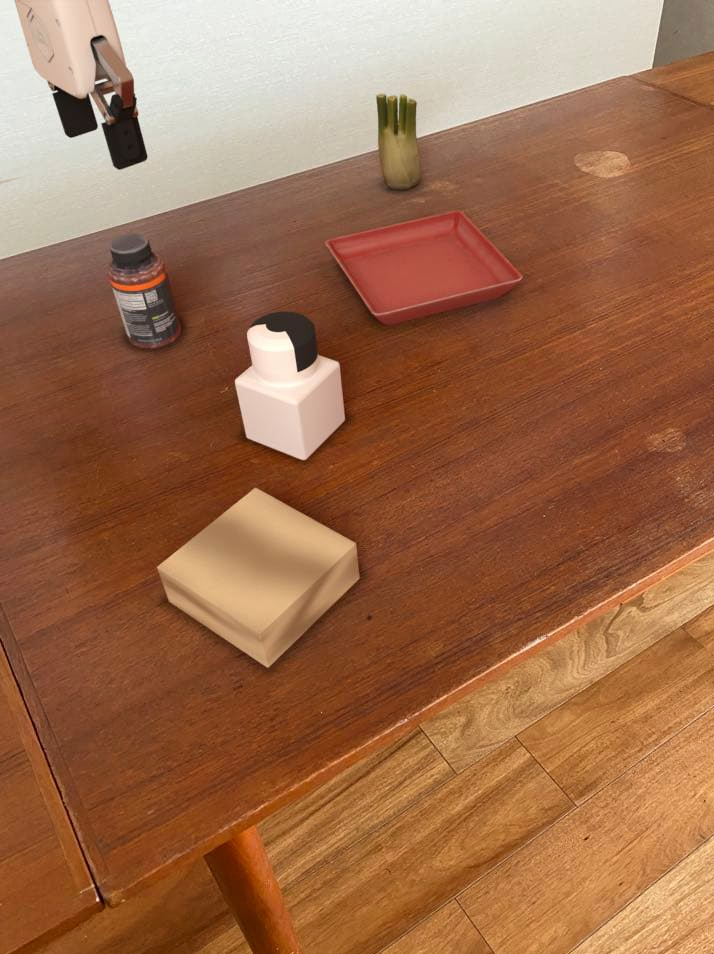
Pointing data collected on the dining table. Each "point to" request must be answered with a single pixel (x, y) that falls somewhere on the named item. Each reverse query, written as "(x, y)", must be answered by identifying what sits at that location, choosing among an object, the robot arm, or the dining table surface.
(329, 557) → the block
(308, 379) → the medicine bottle
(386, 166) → the fennel bulb
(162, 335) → the supplement bottle
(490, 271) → the plant saucer
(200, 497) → the dining table surface
